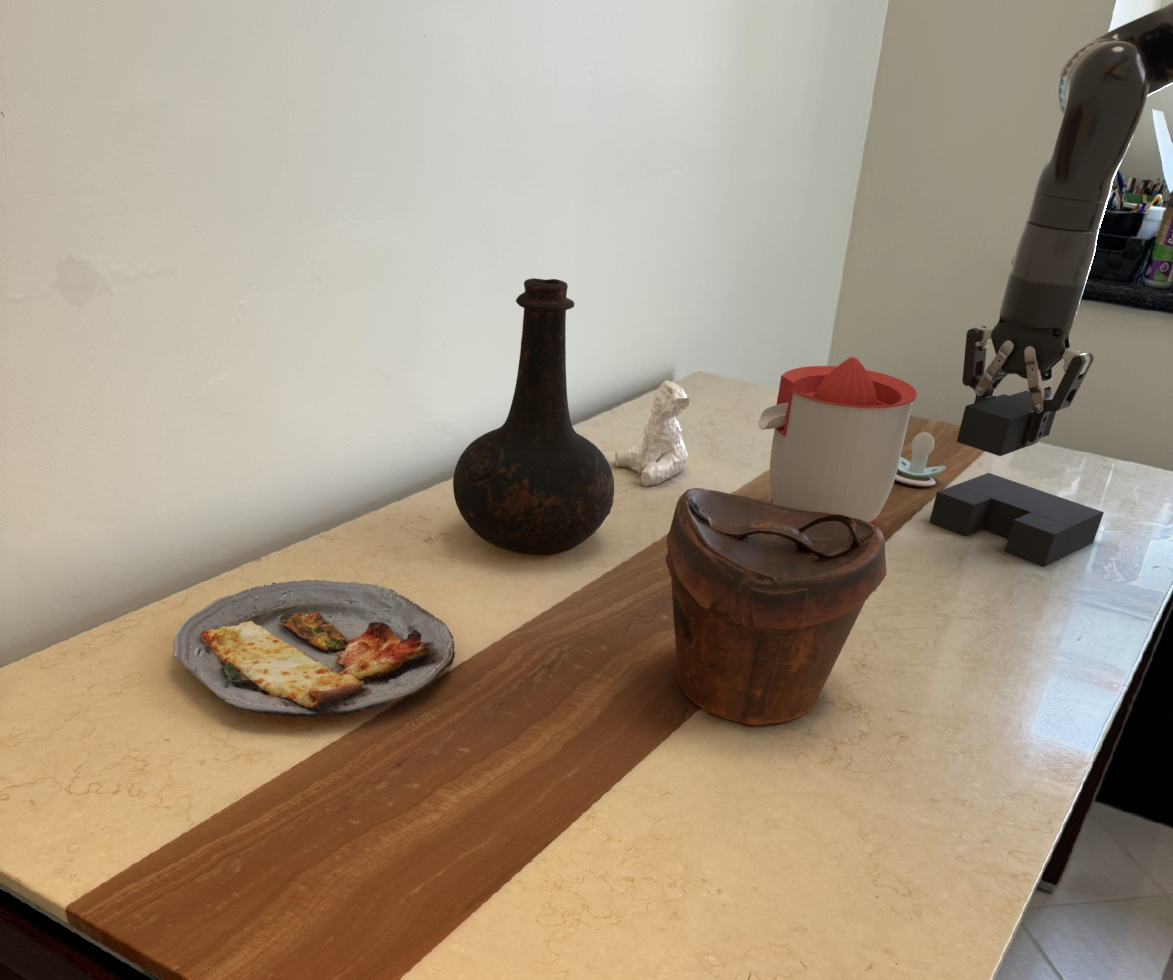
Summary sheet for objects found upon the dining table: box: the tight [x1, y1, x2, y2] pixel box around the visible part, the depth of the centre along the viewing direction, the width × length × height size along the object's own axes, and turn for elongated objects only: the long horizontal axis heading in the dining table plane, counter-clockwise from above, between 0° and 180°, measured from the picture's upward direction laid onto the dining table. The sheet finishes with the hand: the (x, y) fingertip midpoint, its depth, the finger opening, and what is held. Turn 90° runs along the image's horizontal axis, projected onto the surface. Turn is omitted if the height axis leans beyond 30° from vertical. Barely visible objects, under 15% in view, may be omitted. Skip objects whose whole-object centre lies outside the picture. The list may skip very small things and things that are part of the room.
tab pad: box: [956, 389, 1057, 457], centre depth 123 cm, size 6×12×4 cm, turn 132°
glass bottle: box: [452, 277, 615, 557], centre depth 119 cm, size 18×18×28 cm
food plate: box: [172, 579, 456, 719], centre depth 101 cm, size 25×23×4 cm
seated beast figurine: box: [614, 379, 690, 487], centre depth 144 cm, size 10×9×12 cm
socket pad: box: [929, 472, 1104, 567], centre depth 137 cm, size 16×12×4 cm
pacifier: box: [894, 431, 947, 487], centre depth 149 cm, size 7×6×6 cm
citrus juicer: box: [758, 356, 918, 525], centre depth 130 cm, size 16×17×20 cm
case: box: [665, 487, 888, 726], centre depth 97 cm, size 18×20×18 cm
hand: (1002, 436), depth 123 cm, fingers closed on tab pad, 5 cm apart
